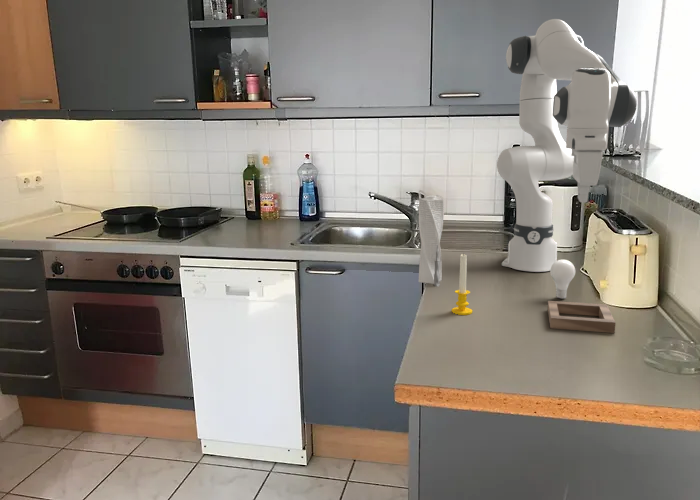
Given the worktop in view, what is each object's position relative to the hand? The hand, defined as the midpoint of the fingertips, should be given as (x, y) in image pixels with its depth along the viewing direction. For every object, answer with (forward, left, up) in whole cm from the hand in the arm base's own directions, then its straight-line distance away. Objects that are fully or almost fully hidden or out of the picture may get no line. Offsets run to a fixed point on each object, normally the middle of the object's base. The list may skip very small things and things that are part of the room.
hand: (582, 201), depth 140 cm
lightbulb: (-18, -2, -29) cm, 35 cm away
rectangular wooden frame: (0, +1, -29) cm, 29 cm away
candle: (-1, -27, -30) cm, 40 cm away
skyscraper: (-26, -39, -29) cm, 55 cm away
